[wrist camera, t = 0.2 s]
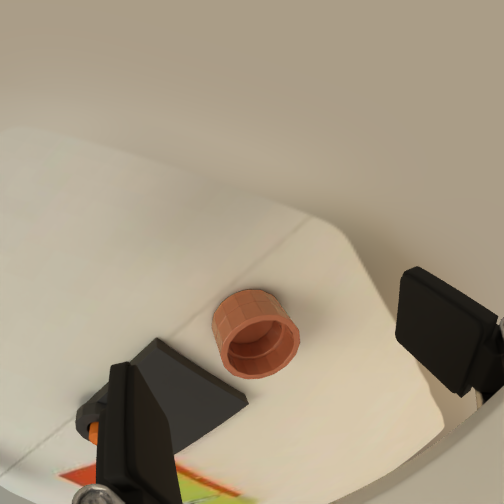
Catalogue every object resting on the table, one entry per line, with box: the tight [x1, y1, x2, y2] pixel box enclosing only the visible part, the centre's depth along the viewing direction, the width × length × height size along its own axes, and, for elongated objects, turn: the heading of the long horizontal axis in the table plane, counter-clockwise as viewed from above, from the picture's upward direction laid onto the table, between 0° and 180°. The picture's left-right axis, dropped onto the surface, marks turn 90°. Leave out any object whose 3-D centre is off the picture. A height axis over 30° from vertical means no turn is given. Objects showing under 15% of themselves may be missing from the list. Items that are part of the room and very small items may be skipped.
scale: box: [75, 338, 249, 454], centre depth 26 cm, size 13×14×3 cm
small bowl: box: [212, 290, 300, 379], centre depth 25 cm, size 6×6×4 cm
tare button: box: [89, 422, 99, 445], centre depth 23 cm, size 3×3×2 cm
